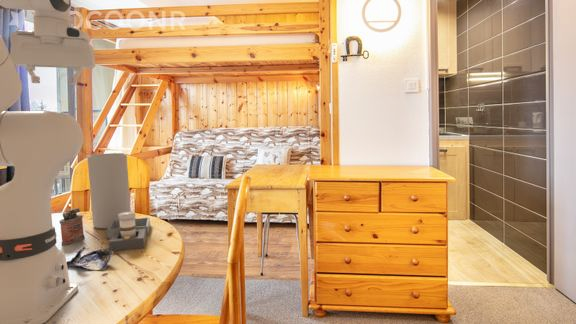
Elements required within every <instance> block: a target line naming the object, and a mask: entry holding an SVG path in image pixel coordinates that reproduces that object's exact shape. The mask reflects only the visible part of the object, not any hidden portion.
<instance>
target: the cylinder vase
mask: <svg viewBox="0 0 576 324" xmlns="http://www.w3.org/2000/svg"><path fill="white" fill-rule="evenodd" d="M86 157H87V168H88V180H89V191H90V193H89V194H90V203H91V217H92V226H93V227H94V228H95V229H101V230H104V229H105V230H107V229H108V227H109V226H110V224H111V222H112V221H115V220H119V217H118V214H120V213H123V212H132V211H131V197H130V183H129V172H128V171H129V169H128V155H127V153H122V152H121V153H120V152H119V153H115V152H114V153H98V154H90V155H87V156H86Z"/></svg>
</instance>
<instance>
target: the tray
mask: <svg viewBox="0 0 576 324" xmlns="http://www.w3.org/2000/svg"><path fill="white" fill-rule="evenodd" d="M150 219H151V217H150V216H149V217H138V218H135V225H136V230H139V229H146V236H149V234H150V227H151V220H150ZM119 231H120V220H115V221H112V222H111V224H110V226H109V227H108V229H106V236H107V240H110V239H111V237H112V235H113V233H114V232H119Z"/></svg>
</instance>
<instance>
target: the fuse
mask: <svg viewBox="0 0 576 324" xmlns="http://www.w3.org/2000/svg"><path fill="white" fill-rule="evenodd" d="M118 217H119V220H120V233H121V238H124V237H125V236H130V237H136V225H135V219H137V218H136V212H135V211H131V212H123V213H120V214H118Z"/></svg>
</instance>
